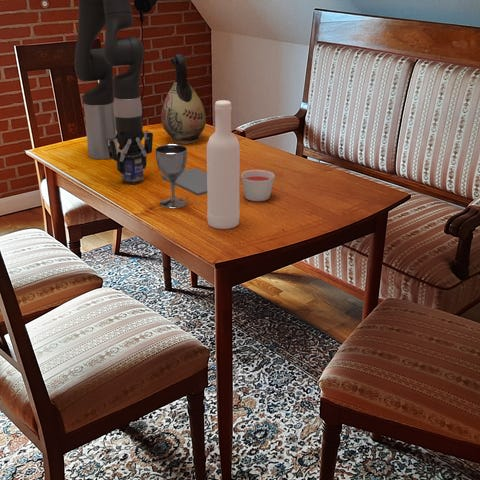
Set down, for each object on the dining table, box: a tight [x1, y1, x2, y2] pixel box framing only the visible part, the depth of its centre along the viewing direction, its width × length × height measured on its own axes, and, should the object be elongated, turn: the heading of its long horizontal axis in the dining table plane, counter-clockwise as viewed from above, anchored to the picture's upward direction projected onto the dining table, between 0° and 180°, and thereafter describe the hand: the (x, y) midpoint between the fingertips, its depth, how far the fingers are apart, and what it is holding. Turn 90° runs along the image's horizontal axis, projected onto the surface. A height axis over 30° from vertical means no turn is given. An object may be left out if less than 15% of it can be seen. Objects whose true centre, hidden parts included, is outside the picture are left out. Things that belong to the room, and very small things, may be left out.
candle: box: [240, 169, 275, 202], centre depth 168 cm, size 9×9×6 cm
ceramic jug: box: [160, 53, 207, 145], centre depth 211 cm, size 17×15×30 cm
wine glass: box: [155, 143, 188, 209], centre depth 162 cm, size 8×8×15 cm
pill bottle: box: [121, 144, 144, 185], centre depth 178 cm, size 6×6×11 cm
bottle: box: [206, 99, 241, 230], centre depth 147 cm, size 8×8×30 cm
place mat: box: [161, 167, 207, 196], centre depth 180 cm, size 18×12×1 cm, turn 39°
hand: (132, 170), depth 179 cm, fingers closed on pill bottle, 6 cm apart
